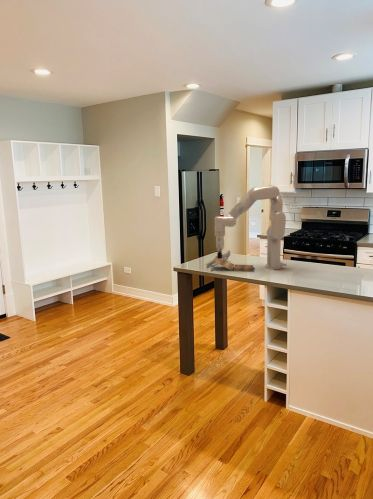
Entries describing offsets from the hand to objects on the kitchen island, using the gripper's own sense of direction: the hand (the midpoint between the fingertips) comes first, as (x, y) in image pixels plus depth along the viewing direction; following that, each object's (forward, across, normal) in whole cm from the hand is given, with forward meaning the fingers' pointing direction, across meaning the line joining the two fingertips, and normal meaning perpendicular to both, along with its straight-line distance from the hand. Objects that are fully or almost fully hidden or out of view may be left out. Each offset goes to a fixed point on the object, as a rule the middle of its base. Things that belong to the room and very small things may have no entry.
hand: (219, 258), depth 277 cm
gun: (+9, +16, +3) cm, 19 cm away
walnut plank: (+8, 0, -18) cm, 19 cm away
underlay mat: (+8, 0, -10) cm, 13 cm away
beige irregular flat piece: (+4, 0, -3) cm, 5 cm away
